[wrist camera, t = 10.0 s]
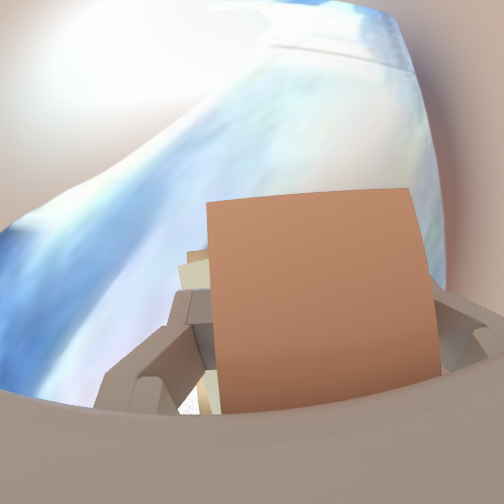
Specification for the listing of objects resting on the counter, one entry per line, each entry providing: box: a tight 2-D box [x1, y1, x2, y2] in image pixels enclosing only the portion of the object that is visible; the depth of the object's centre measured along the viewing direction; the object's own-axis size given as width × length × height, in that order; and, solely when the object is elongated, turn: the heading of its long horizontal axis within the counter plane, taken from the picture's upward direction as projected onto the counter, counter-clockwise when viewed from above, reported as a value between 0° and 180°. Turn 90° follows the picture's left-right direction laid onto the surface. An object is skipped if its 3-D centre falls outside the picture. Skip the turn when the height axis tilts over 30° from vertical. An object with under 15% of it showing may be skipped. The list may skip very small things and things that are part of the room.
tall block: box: [206, 188, 441, 414], centre depth 9 cm, size 4×4×8 cm
